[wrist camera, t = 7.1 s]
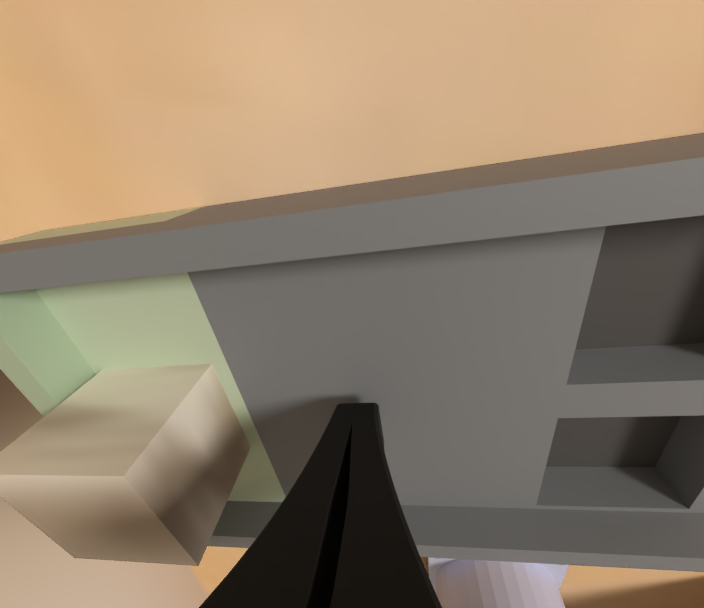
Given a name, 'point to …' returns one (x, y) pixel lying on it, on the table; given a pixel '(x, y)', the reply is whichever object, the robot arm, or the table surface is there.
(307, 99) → the table surface
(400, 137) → the table surface
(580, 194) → the box
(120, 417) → the cream block
